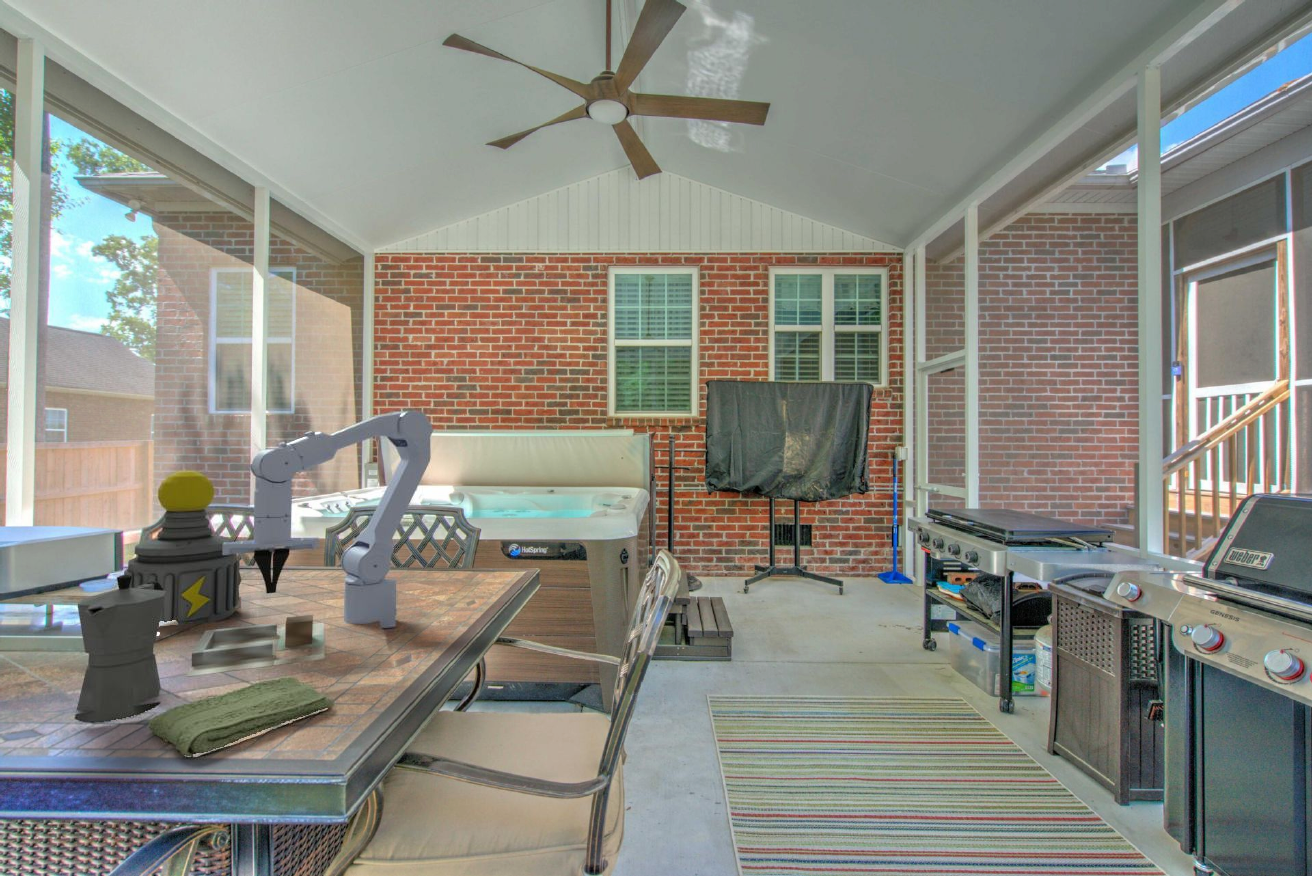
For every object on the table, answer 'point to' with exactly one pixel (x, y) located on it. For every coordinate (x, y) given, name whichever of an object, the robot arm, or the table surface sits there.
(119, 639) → the coffeepot
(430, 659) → the table surface
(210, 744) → the washcloth
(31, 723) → the table surface
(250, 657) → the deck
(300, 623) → the walnut block
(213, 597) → the decorative lamp
